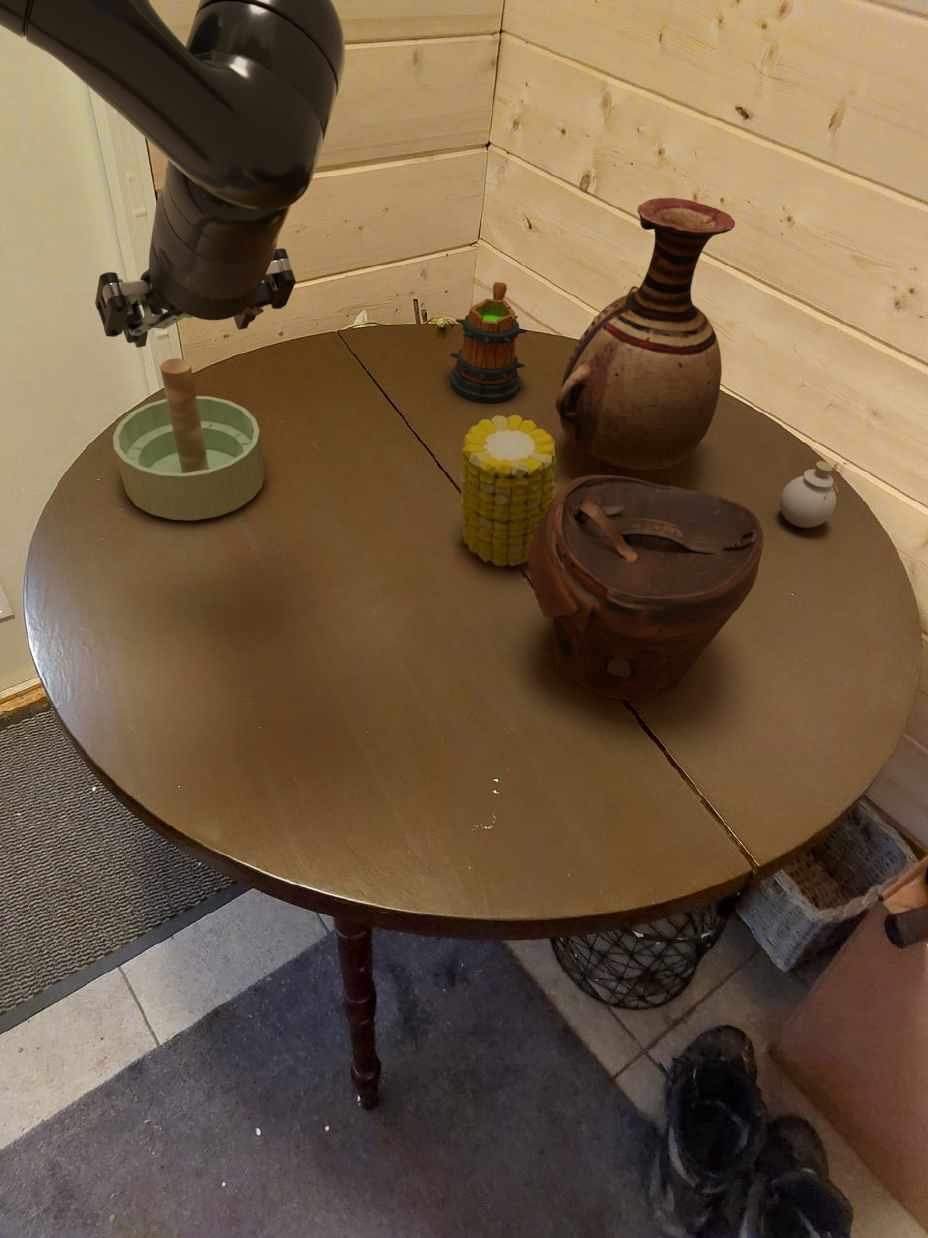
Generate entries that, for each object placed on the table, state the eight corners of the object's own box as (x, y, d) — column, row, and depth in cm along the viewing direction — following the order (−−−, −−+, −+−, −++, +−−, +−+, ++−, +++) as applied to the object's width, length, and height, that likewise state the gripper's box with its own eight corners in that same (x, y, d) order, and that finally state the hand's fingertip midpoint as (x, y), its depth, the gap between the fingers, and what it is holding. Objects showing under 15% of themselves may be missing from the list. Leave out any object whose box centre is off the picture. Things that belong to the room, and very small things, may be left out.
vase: (550, 505, 97) (601, 244, 75) (528, 418, 109) (566, 173, 87) (725, 505, 99) (822, 254, 78) (683, 421, 112) (757, 183, 90)
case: (488, 606, 84) (508, 460, 71) (662, 575, 90) (710, 435, 77) (553, 746, 73) (592, 603, 60) (748, 702, 78) (822, 562, 65)
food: (557, 558, 93) (485, 593, 88) (498, 484, 97) (426, 515, 93) (599, 467, 80) (517, 504, 76) (528, 387, 84) (447, 418, 80)
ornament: (814, 506, 100) (848, 437, 93) (834, 547, 95) (872, 477, 88) (766, 504, 100) (796, 434, 93) (784, 545, 95) (817, 474, 88)
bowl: (132, 534, 88) (118, 485, 83) (121, 452, 97) (108, 404, 93) (276, 512, 92) (270, 463, 87) (252, 436, 102) (246, 388, 97)
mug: (517, 409, 110) (528, 327, 102) (442, 397, 111) (447, 315, 103) (527, 362, 119) (539, 283, 111) (458, 351, 120) (464, 272, 112)
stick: (184, 487, 93) (161, 374, 83) (181, 471, 95) (158, 359, 85) (212, 483, 94) (192, 371, 84) (208, 467, 96) (188, 356, 85)
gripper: (297, 173, 57) (255, 270, 72) (81, 195, 51) (84, 295, 66) (331, 281, 58) (283, 355, 73) (121, 314, 52) (115, 387, 67)
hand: (188, 326), depth 69 cm, fingers open, 8 cm apart
